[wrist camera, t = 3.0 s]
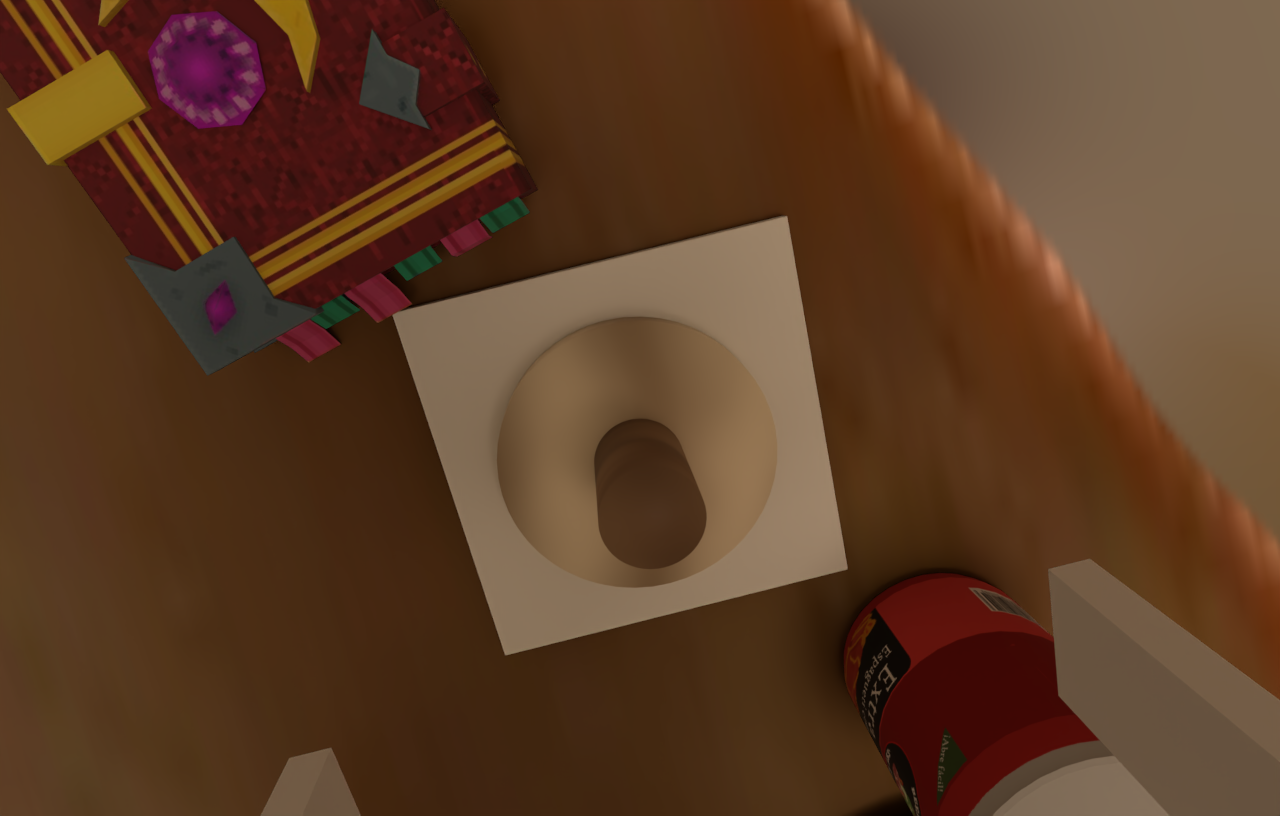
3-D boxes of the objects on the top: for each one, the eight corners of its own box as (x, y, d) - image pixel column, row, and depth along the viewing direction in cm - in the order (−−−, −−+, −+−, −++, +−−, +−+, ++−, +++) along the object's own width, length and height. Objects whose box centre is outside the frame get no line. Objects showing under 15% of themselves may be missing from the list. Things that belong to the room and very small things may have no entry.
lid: (541, 599, 30) (532, 701, 24) (465, 354, 27) (435, 402, 21) (790, 536, 30) (843, 623, 24) (741, 286, 27) (788, 314, 21)
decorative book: (289, -289, 22) (208, -423, 17) (565, 220, 27) (562, 226, 22) (-39, -89, 23) (-203, -165, 18) (283, 376, 27) (220, 415, 22)
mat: (506, 646, 31) (505, 655, 30) (395, 310, 27) (391, 313, 26) (842, 562, 31) (847, 569, 31) (782, 215, 27) (787, 216, 27)
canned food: (821, 595, 32) (943, 800, 21) (1008, 543, 32) (1224, 721, 21) (854, 744, 34) (980, 997, 23) (1029, 695, 34) (1234, 925, 23)
